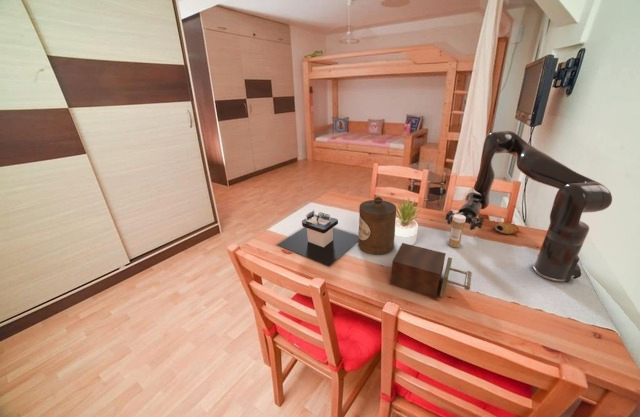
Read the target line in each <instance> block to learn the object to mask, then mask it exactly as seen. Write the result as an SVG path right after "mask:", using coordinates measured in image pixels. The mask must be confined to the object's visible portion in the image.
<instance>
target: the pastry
mask: <svg viewBox="0 0 640 417" xmlns="http://www.w3.org/2000/svg"><path fill="white" fill-rule="evenodd" d="M493 228H494V230H495V231H496V232H500V233H501V234H504V235H513V234H516V233H518V231H519V226H518V225H516V224H515V223H510V222H505V221H503V222H499V223H497V224H495V225H494V227H493Z"/></svg>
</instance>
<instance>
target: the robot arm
mask: <svg viewBox="0 0 640 417" xmlns="http://www.w3.org/2000/svg"><path fill="white" fill-rule="evenodd" d="M495 154H510V155H511V156H513V157H514V158H516V160H515V161H516V162H515V164H516V167H517V169H518V170H519V172H520V173H522V174H523V175H525V176H526V177H527V178H529V179H531V180H532V181H535V182H537V183H539V184H543V185H545V186H549V187H552V188H555V189H558V190H557V191H556V194H555V197H554V200H553V203H552V207H551V210H550V213H549V225H548V228H547V230H546V234H545V235H544V239H543V240H542V241H543V242H542V244H541V247H540V250H539V252H538V254H537V257H536V260H535V263H534V265H533V268H532V270H533V271H534V272H535V274H537V275H538V276H539V277H541V278H544V279H546V280H549V281H552V282H557V283H564V282H565V283H570V282H571V280H572V278H573V279H574V280H576V279H578V278H580V277H581V276H582V270H581V268H580V265H579V261H580V257H579V255H580V252H581V250H582V247H583V245H584V243H585V241H586V238H587V236H588V234H589V232H590V226H589V224H587V223H586V222H584V221H582V220H581V218H582V214H585V213H586V214H587V213H596V212H597V213H598V212H602V211H604V210H606V209H608V208H609V207H610V206H611V205H612V202H613V195H612V193H611V191H610V189H609V188H608V187H607V186H605V185H604V184H602V183H601V182H598V181H596V180H594V179H592V178H590V177H587V176H585V175H583V174H581V173H579V172H576V171H575V170H572V169H571V168H570V167H568V166H566V165H565V164H563V163H562V162H560V161H558V160H556V159H555V158H553V157H552V156H551V155H549V154H548V153H545V152H543V151H542V150H539V148H536V147H534V146H533V145H531V144H530V143H528V142H527V141H526V140H524V139H523V138H522V137H521V136H519V134H517V133H516V132H514V131H512V130H504V131H503V130H501V131H494V132H489V133H488V134H487V135H486V137H485V140H484V142H483V145H482V151H481V157H480V163H479V164H480V165H479V170H478V173H477V177H476V179H475V183H474V185H473V190H474V191H475V192H473V191H472V192H471V191H470V192H469V193H467V194H466V196H465V200H464V203H465V204H463V205H462V206H461V207H460V209H459V210H458V212H454V211H453V210H449V211H448V212H446V214H445V217H444V218H445V220H446V223H447V225H452V223H453V216H454V215H456V214H460V215H464V216H465V217H466V221H465V223H466V224H468V225H469V226H470V227H469V230H470V231H473V230H475V229H476V228H478V229H481V228H482V226H483V223H484V219H485V218H484V217H479V218H478V216H479V214H480V212H481V210H485V209H487V208H488V207H489V205H490V194H491V189H492V186H493V184H494V181H495V176H496V175H495V173H496V172H495V170H494V167H493V163H492V162H493V158H494V156H495ZM465 223H464V224H465Z"/></svg>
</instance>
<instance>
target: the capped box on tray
mask: <svg viewBox="0 0 640 417" xmlns="http://www.w3.org/2000/svg"><path fill="white" fill-rule="evenodd" d="M338 224H339V219H338V218H335V217H331V214H328V213H325V212H321V211H319V212H318V214H315V210H314V209H313V210H312V211H310V212H309V213H306V214H305V218H304V219H302V221H301V226H302V227H303V228H301V229H300V230H298V231H297V232H295V233H293V234H292V235H290V236H289V237H287V238H285V239H284V240H281V242H279V243H277V246H280V247H282V248H285V249H287V250H289V251H291V252H293V253H296V254H299V255H301V256H303V257H306V258H308V259H310V260H312V261H315V262H317V263H320V264H322V265H324V266H328V267H331V265H333V264H334V263H335V262H336V261H337V260H338V259H339V258H341V256H343V255H344V254H345V253H346V252H347V251H348V250H349V249H350V248H352V247H353V246H354V245H355V244H357V242H359V234H355V233H352V232H349V231H345V230H342V229H339V228H335V227H336V226H337V225H338Z"/></svg>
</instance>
